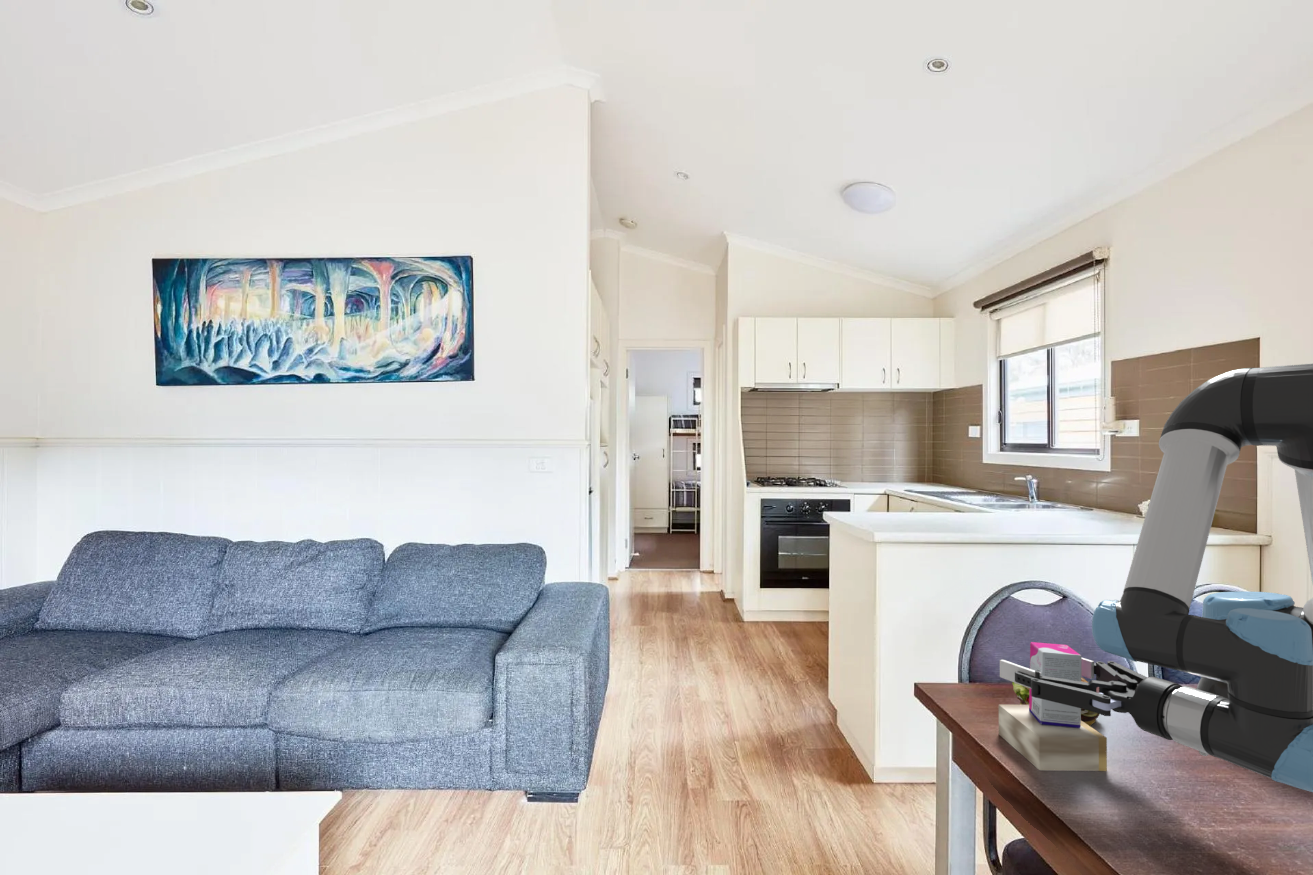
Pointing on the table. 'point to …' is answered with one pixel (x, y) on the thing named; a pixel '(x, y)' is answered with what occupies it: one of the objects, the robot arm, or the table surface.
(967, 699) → the table surface
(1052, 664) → the supplement box
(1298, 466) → the robot arm
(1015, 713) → the block
